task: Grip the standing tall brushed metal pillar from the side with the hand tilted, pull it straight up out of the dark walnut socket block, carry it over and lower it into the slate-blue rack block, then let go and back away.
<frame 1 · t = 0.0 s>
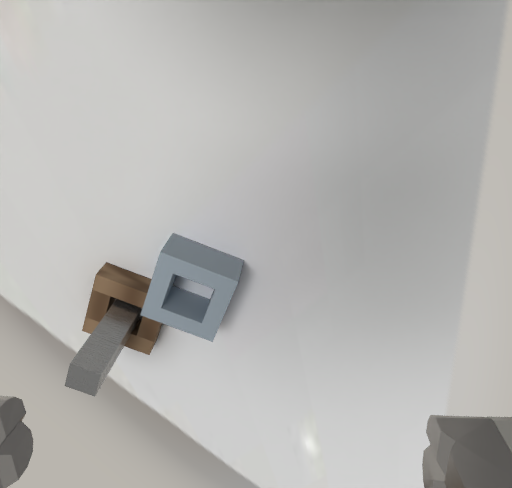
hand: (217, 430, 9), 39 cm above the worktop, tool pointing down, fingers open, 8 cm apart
rack block: (197, 276, 53), on the worktop
socket block: (132, 303, 55), on the worktop
tall brushed metal pillar: (110, 336, 49), in the socket block
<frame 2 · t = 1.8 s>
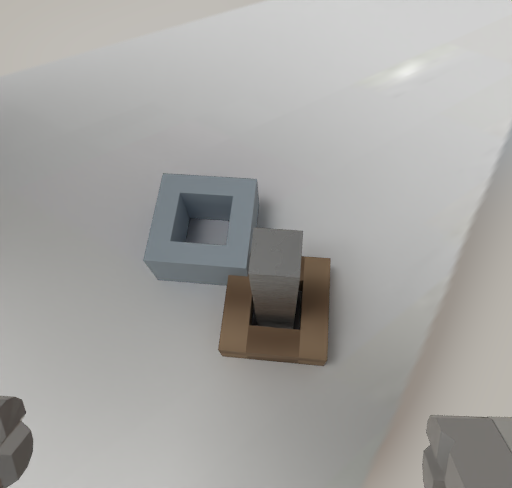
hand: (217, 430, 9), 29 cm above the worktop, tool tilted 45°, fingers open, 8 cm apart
rack block: (210, 241, 43), on the worktop
socket block: (276, 311, 40), on the worktop
tall brushed metal pillar: (276, 287, 33), in the socket block
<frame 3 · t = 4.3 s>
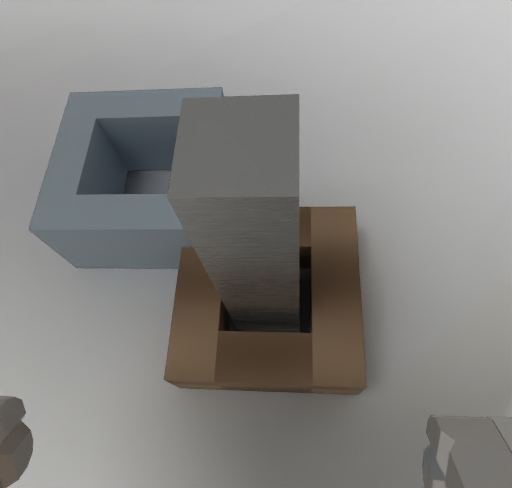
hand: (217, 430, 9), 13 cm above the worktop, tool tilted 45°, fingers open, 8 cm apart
rack block: (159, 202, 27), on the worktop
socket block: (270, 305, 23), on the worktop
tall brushed metal pillar: (259, 254, 17), in the socket block
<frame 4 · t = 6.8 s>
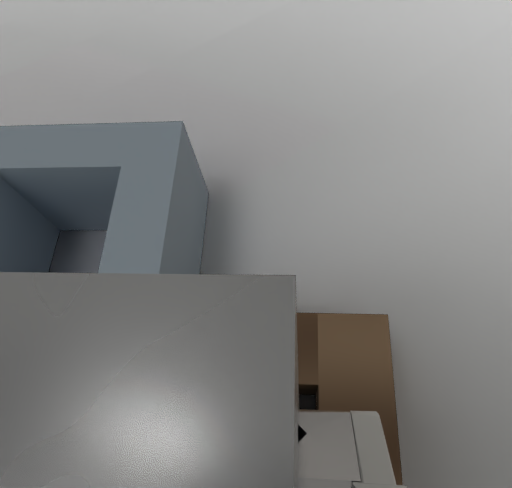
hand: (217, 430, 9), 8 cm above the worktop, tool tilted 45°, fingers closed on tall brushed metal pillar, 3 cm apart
rack block: (99, 280, 19), on the worktop
socket block: (254, 457, 15), on the worktop
tall brushed metal pillar: (222, 464, 9), in the socket block, touching gripper
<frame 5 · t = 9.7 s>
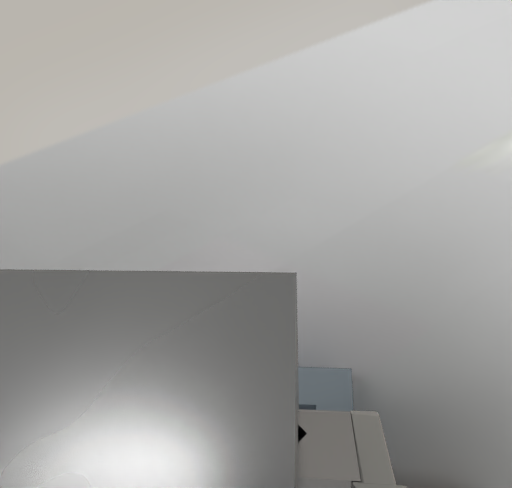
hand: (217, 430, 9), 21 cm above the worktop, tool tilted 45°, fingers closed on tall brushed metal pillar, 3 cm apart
rack block: (274, 451, 27), on the worktop
tall brushed metal pillar: (222, 463, 9), point 20 cm above the worktop, touching gripper
when the fingers open (9 cm above the worktop, at t = 12.6 s): tall brushed metal pillar drops 1 cm, resting in rack block.
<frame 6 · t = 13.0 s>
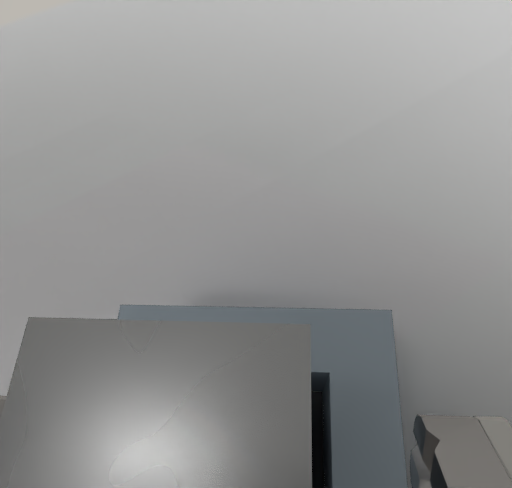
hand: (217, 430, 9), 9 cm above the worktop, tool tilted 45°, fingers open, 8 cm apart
rack block: (258, 456, 17), on the worktop
tall brushed metal pillar: (234, 461, 10), in the rack block
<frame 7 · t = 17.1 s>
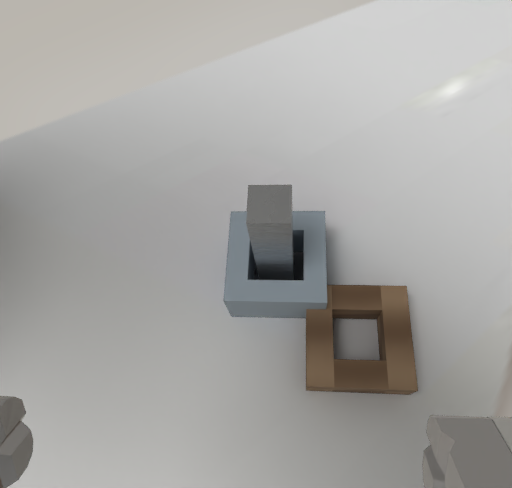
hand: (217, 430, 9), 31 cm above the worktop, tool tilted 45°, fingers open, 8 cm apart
rack block: (278, 274, 43), on the worktop
socket block: (354, 341, 40), on the worktop
tall brushed metal pillar: (274, 244, 37), in the rack block
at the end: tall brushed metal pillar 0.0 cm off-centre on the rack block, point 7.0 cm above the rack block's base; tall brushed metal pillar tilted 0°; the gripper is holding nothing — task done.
